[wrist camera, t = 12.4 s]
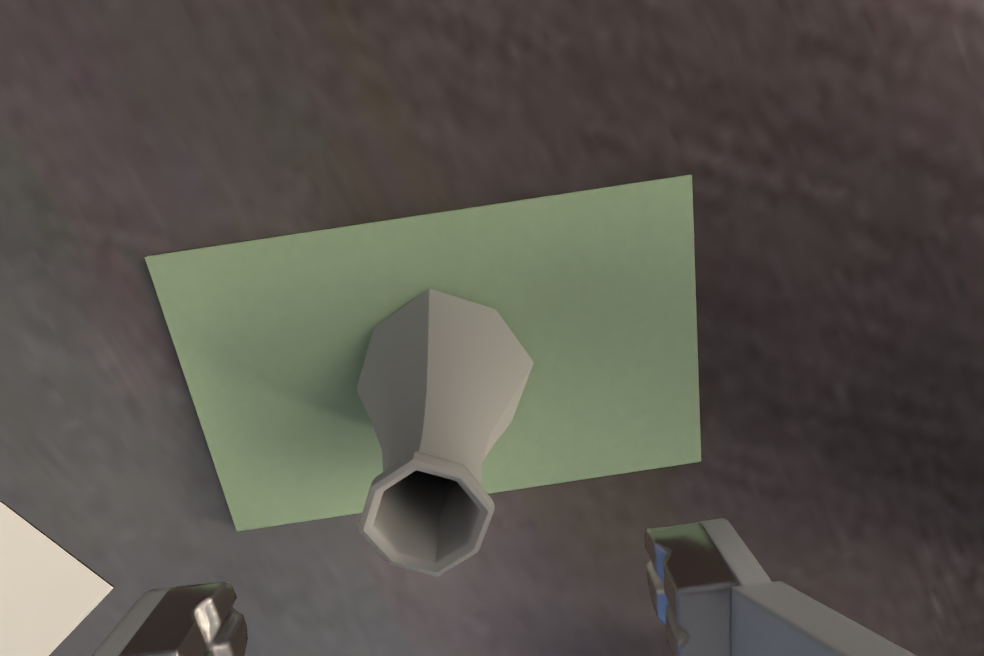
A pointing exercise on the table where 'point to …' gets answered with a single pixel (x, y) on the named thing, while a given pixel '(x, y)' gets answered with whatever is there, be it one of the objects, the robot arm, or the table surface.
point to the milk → (40, 589)
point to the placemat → (464, 274)
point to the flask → (436, 426)
